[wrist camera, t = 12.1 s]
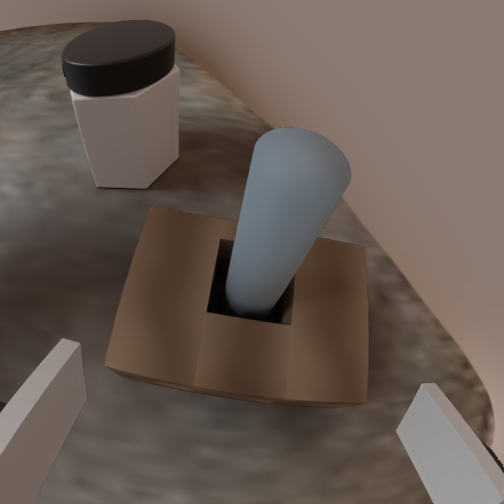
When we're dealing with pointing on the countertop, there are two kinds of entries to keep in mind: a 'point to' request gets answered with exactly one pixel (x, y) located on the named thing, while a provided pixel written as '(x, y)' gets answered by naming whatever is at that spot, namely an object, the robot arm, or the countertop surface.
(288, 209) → the peg
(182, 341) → the hole block
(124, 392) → the countertop surface
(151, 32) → the jar
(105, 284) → the countertop surface
